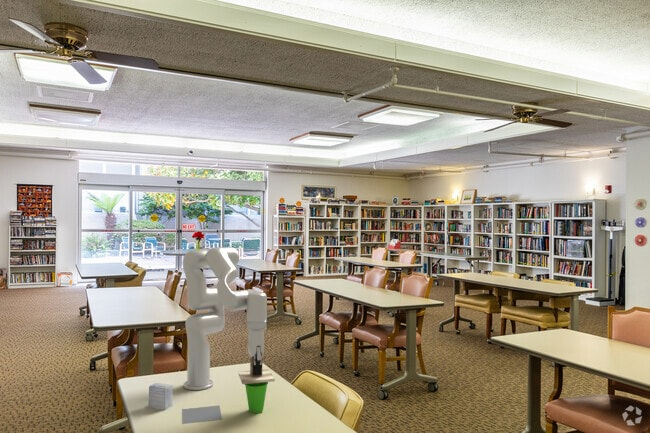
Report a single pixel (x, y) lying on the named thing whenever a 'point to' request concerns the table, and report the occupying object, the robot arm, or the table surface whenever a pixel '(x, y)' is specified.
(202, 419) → the mat
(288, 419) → the table surface
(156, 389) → the medicine box
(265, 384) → the cup
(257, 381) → the lid
